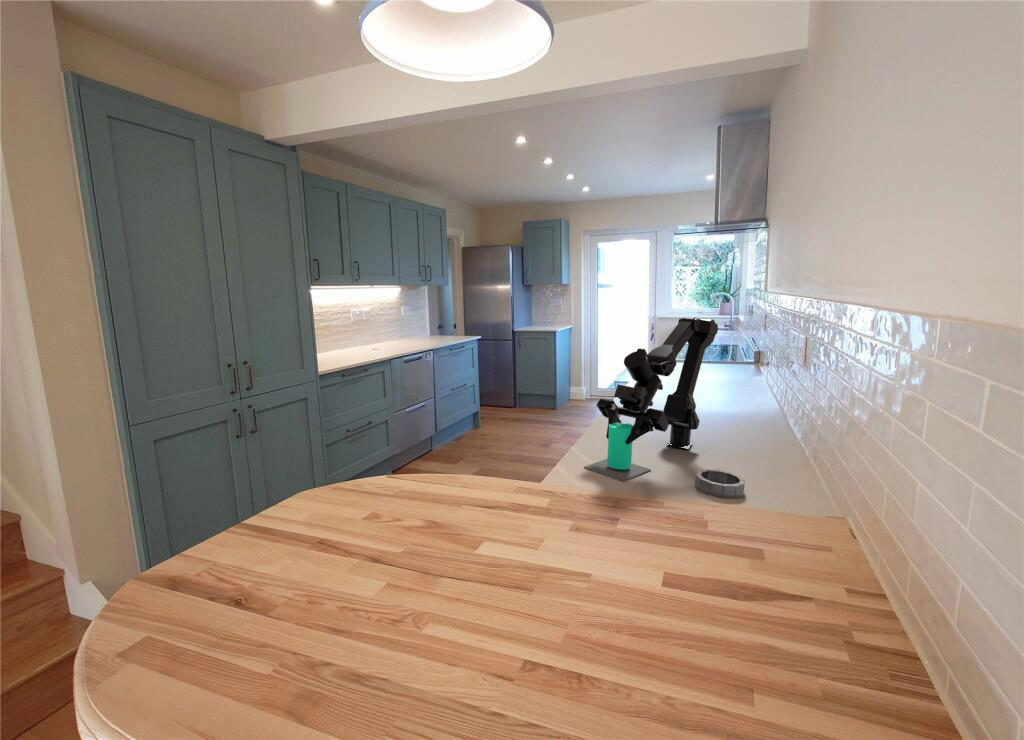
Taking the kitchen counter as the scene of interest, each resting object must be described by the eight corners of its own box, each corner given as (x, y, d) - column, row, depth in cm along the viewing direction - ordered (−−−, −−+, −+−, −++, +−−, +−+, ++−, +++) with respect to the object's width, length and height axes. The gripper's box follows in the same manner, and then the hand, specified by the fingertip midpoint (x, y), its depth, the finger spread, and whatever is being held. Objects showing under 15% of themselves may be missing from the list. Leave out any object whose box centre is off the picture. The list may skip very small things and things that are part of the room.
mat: (611, 458, 131) (611, 457, 131) (650, 470, 123) (650, 469, 123) (584, 468, 123) (584, 466, 123) (624, 482, 115) (624, 480, 114)
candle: (635, 465, 122) (638, 420, 121) (621, 471, 119) (623, 423, 117) (616, 459, 127) (619, 415, 125) (602, 464, 123) (604, 418, 121)
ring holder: (699, 478, 119) (700, 466, 118) (745, 487, 114) (746, 475, 113) (691, 491, 110) (692, 479, 110) (740, 502, 105) (742, 489, 104)
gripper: (602, 368, 129) (574, 415, 123) (666, 378, 115) (638, 431, 109) (617, 393, 135) (591, 439, 129) (679, 405, 122) (654, 457, 116)
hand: (616, 440), depth 121 cm, fingers closed on candle, 5 cm apart
